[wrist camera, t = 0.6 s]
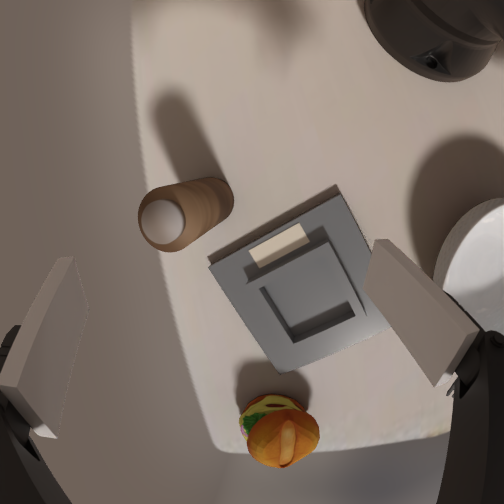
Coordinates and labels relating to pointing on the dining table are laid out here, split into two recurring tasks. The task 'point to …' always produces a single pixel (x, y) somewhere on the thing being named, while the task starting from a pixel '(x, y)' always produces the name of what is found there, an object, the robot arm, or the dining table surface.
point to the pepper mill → (183, 212)
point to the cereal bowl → (476, 264)
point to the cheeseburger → (278, 430)
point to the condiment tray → (303, 287)
